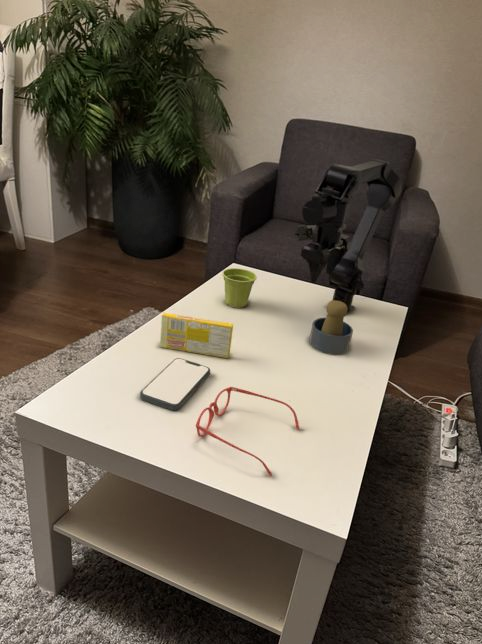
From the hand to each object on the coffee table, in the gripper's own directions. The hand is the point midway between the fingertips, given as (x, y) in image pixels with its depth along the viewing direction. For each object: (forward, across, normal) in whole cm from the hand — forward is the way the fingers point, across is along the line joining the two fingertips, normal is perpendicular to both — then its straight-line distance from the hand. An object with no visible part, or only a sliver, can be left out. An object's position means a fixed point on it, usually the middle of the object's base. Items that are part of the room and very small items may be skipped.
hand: (320, 278), depth 140 cm
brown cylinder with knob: (+13, +8, +9) cm, 17 cm away
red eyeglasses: (+13, +53, +13) cm, 56 cm away
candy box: (+13, +35, -13) cm, 40 cm away
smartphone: (+13, +49, -7) cm, 51 cm away
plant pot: (+13, +6, -21) cm, 26 cm away
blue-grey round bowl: (+13, +8, +9) cm, 18 cm away
